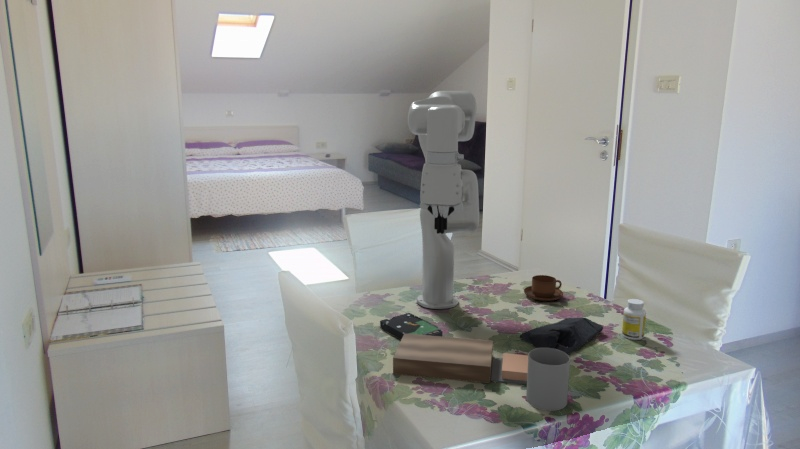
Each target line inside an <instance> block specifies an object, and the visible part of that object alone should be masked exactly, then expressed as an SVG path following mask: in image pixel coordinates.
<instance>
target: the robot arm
mask: <svg viewBox="0 0 800 449" xmlns="http://www.w3.org/2000/svg"><path fill="white" fill-rule="evenodd" d="M476 118H477V101H476V98H475V96H474V94H473V93H472V92H470V91H467V90H438V91H435V92H433V93H431V94H430V95H429V96H428V97H427V98H424V99H420V100H415V101H413V102H412V103H411V104H410V106H409V108H408V113H407V126H408V129H409V131H410V133H411V134H413V135H415V136H418V137H417V138H418V142H419V145H420V148H421V150H422V153H423V156H424V159H425V162H424V163H423V167H422V171H421V180H420V192H419V194H420V195H419V198H420V200H419V201H420V202H419V208H420V210H419V222H420V227H421V237H422V261H421V262H422V263H421V264H422V269H421V271H422V272H421V273H422V276H421V286H422V288H421V294H419V295H418V296H417V298H416V303H417V304H418V305H419V306H421V307H424V308H426V309H431V310H444V309H445V310H447V309H451V308H453V307H456V306H457V305H458V304H459V298H458V297H457V296H456V295H454V273H455V272H454V271H455V269H454V268H455V266H454V265H455V247H454V246H455V245H454V243H453V242H452V240H451V239H450V237H449V236H448V235H447V234H471V233H475V232H476V231H477V230H478V228H479V224H480V199H479V184H478V183H479V181H478V176H477V174H476V173H475V172H474V171H473V170H470V169H462V165H461V164H460V163H458V162H459V161H463V160H464V159H465V158H464V156H465V155H464V154H462V153H459V142H467V141H470V140H471V139H472V138H473V136H474V133H475V126H476Z"/></svg>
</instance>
